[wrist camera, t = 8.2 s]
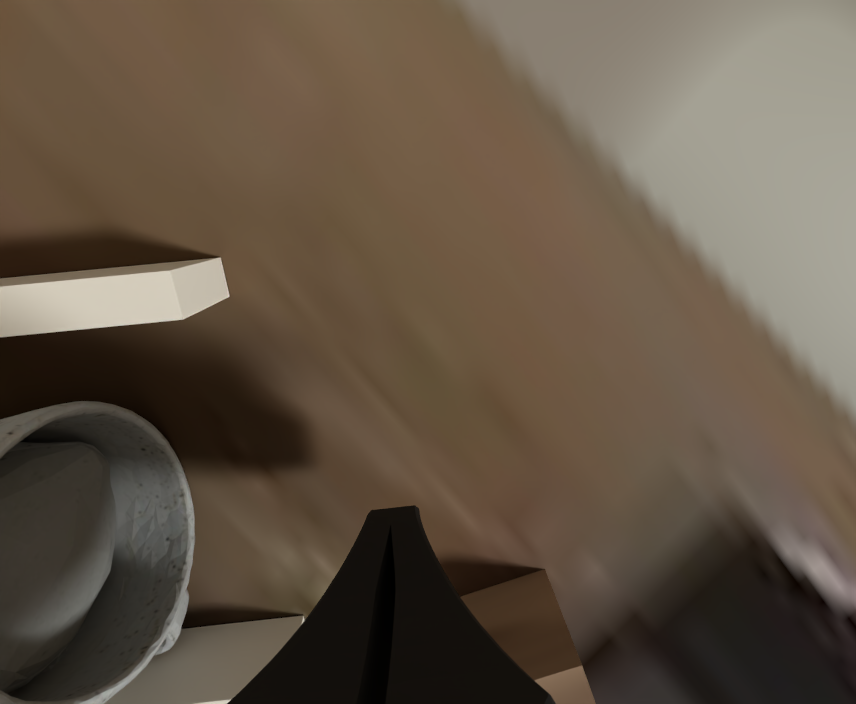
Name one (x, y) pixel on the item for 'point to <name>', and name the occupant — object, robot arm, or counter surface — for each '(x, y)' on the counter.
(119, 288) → the frame
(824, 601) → the counter surface
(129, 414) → the ceramic mug
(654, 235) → the counter surface
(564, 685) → the walnut block
